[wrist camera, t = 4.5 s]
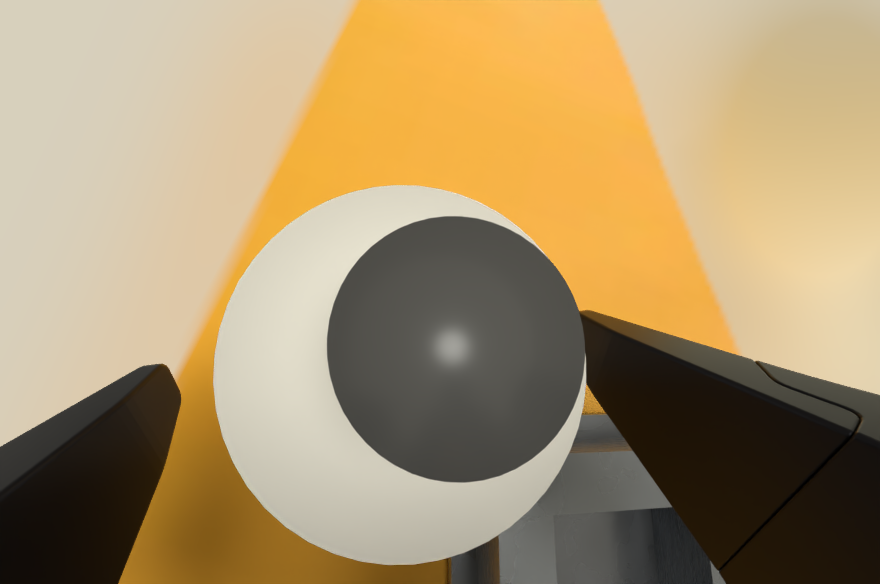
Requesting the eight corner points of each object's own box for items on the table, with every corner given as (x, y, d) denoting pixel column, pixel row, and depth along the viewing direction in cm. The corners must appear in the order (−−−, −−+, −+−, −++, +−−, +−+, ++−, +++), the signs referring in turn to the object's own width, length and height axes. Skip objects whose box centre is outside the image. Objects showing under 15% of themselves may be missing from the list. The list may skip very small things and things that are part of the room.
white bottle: (431, 424, 17) (848, 735, 2) (320, 426, 16) (-106, 930, 2) (431, 318, 18) (730, 64, 3) (327, 315, 17) (96, -37, 2)
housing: (723, 702, 17) (815, 786, 14) (449, 750, 15) (475, 863, 11) (687, 411, 19) (757, 419, 16) (447, 416, 17) (467, 427, 14)
